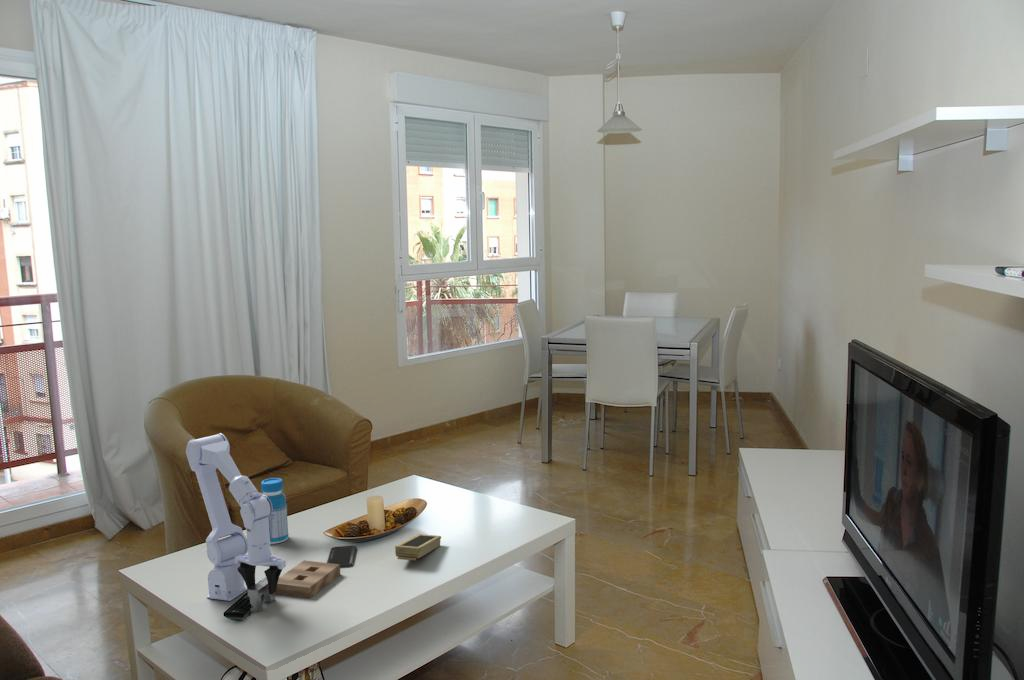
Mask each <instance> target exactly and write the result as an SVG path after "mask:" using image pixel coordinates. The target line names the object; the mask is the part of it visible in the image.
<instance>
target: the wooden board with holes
mask: <svg viewBox="0 0 1024 680" xmlns="http://www.w3.org/2000/svg"><path fill="white" fill-rule="evenodd" d="M340 575H341V568H340V564H332V563H327V562H323V561H322V562H321V561H312V560H305V559H304V560H303V561H301V562H299V563H298V564H297V565H295V566H294V567H292V568H291V569H290V570H288V571H286V572H284V574H282V575H280V576H279V579H278V583H277V588H276V592H275V595H283V596H284V595H286V596H291V597H299V598H307V599H311V598H312V597H313V596H315V595H316V594H317V593H319V591H321V590H322V589H324V588H325V587H326V586H327V585H329V584H330V583H331V582H333V581H334V580H335V579H336V578H338V577H339V576H340Z"/></svg>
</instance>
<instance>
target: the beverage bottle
mask: <svg viewBox="0 0 1024 680" xmlns="http://www.w3.org/2000/svg"><path fill="white" fill-rule="evenodd" d="M260 487H261V489H260V490H261V493H262V494H263V495H266V496H268V497H269V499H270V501H271V503H272V508H273V510H272V514H271V515H270V516H268V519H269V534H270V545H275V544H281V543H283V542H285V541H287V540H288V539H289V526H288V525H289V524H288V505H287V503H286V502H287V497H286V495H285V493H284V492H283V490H284V481H283V479H282V478H279V477H270V478H267V479H263V480H262V481H261V484H260Z"/></svg>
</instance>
